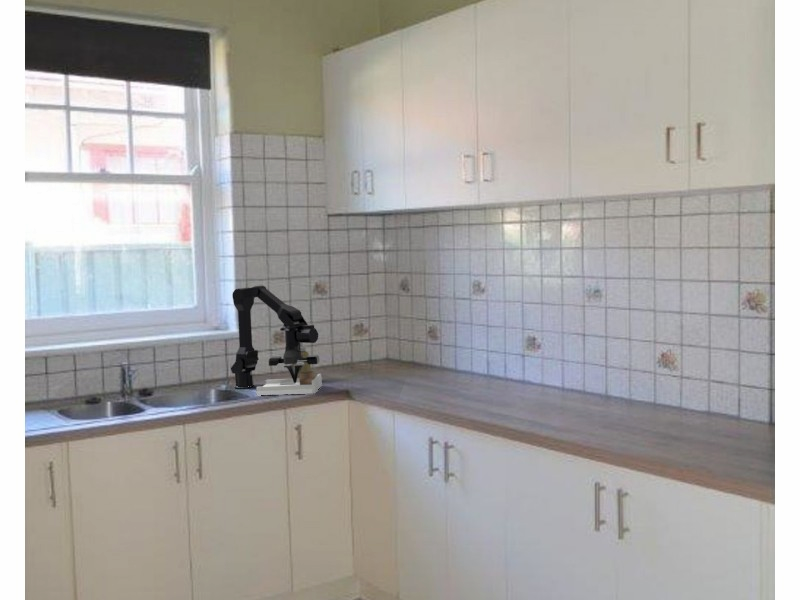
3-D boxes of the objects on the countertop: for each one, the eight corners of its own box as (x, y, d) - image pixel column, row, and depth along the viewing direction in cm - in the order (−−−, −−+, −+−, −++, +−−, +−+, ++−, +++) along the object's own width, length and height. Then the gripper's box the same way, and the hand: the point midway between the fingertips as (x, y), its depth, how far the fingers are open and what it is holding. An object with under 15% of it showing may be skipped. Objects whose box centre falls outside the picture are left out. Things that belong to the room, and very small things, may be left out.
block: (299, 386, 329) (299, 373, 329) (302, 384, 334) (301, 371, 334) (312, 386, 329) (312, 373, 328) (315, 383, 334) (314, 371, 333)
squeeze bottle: (310, 383, 347) (308, 338, 346) (290, 384, 347) (288, 339, 346) (313, 379, 355) (310, 336, 354) (293, 380, 356) (290, 337, 354)
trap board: (257, 396, 325) (256, 383, 325) (266, 388, 341) (265, 375, 340) (315, 394, 323) (314, 380, 323) (322, 386, 339) (321, 373, 339)
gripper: (264, 346, 323) (266, 387, 324) (313, 344, 322) (315, 385, 323) (270, 342, 334) (273, 382, 335) (318, 340, 333) (320, 380, 334)
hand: (295, 382), depth 332 cm, fingers closed
